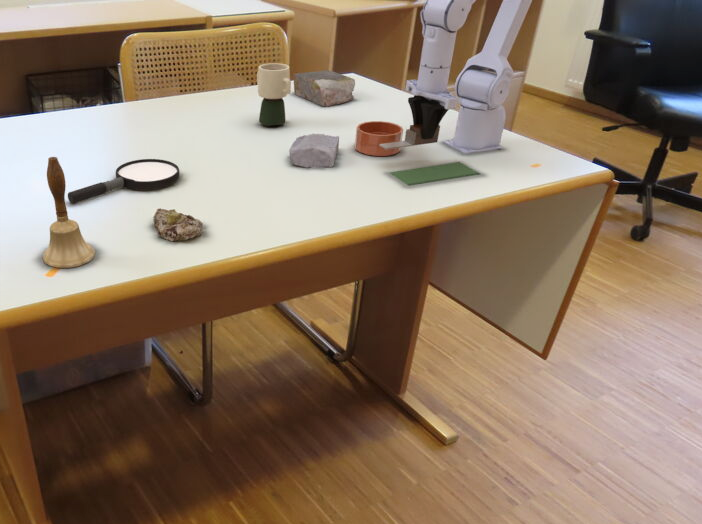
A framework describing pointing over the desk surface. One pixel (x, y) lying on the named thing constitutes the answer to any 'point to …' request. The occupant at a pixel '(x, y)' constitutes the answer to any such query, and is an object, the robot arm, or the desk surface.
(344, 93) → the geological specimen
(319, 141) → the stone block
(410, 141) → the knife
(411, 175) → the green flat rectangular slab
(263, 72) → the character mug
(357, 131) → the bowl
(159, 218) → the mineral rock
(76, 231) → the hand bell
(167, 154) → the desk surface
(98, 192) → the magnifying glass
